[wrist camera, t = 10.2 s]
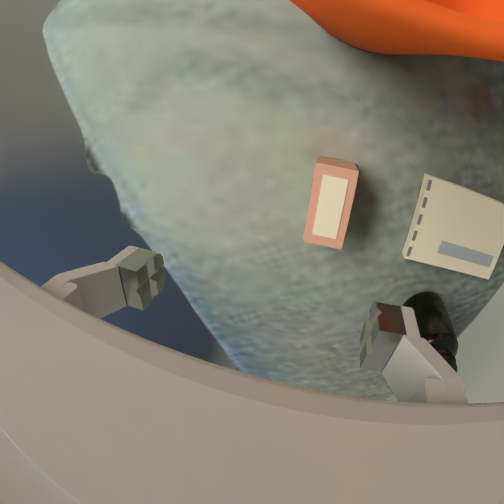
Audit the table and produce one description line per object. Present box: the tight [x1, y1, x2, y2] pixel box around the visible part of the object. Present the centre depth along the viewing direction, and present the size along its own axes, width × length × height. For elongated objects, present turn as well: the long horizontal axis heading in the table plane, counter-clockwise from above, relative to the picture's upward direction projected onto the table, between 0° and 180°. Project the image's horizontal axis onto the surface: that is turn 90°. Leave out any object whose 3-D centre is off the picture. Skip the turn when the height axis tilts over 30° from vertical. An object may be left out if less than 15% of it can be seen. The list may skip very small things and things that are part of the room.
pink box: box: [303, 156, 359, 249], centre depth 27 cm, size 4×8×5 cm, turn 175°
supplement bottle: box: [403, 292, 458, 373], centre depth 27 cm, size 7×7×12 cm
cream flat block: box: [402, 173, 504, 280], centre depth 25 cm, size 14×10×2 cm
